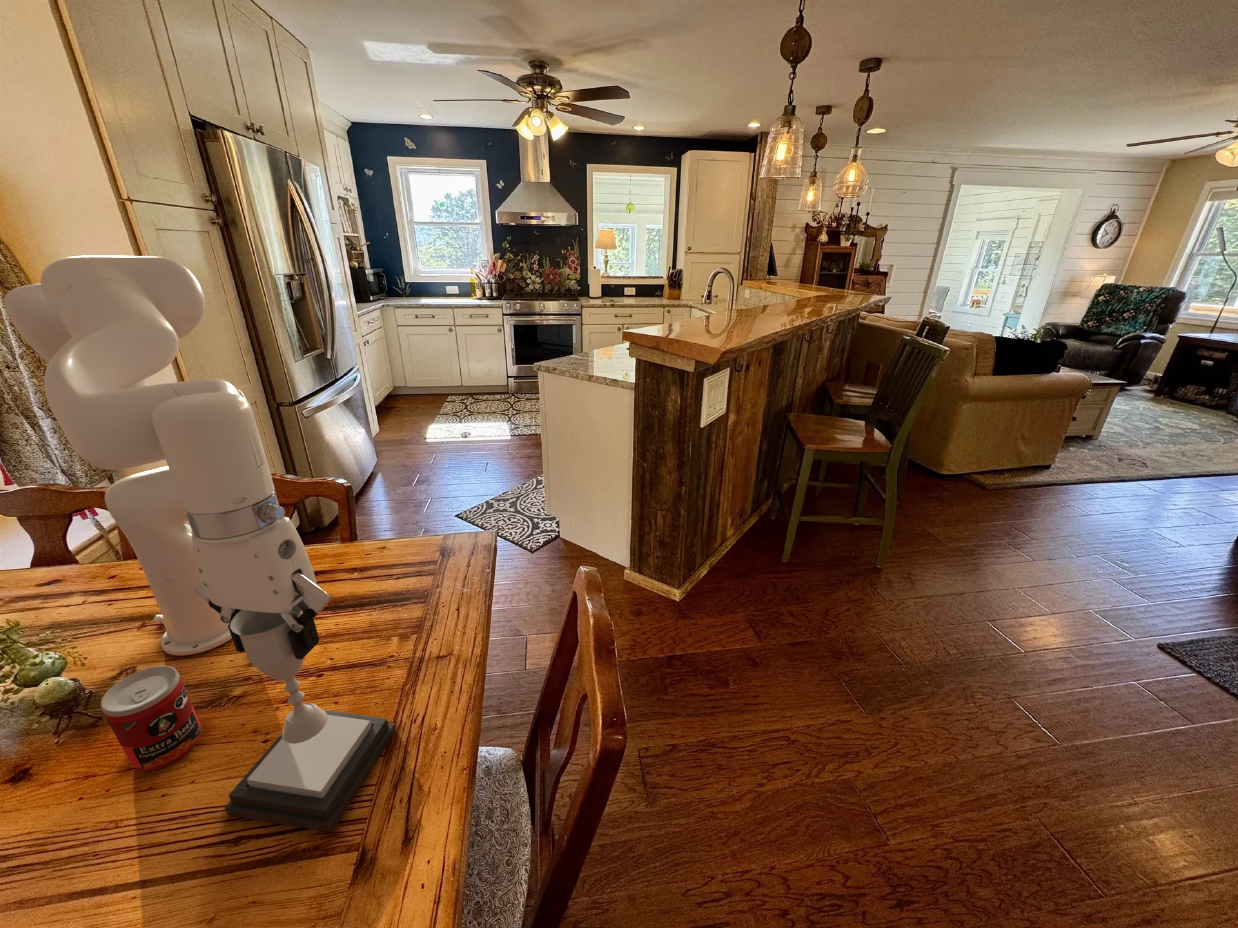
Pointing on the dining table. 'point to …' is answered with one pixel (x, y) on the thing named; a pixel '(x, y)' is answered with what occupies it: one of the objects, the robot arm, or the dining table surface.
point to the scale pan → (311, 760)
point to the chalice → (279, 667)
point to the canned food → (152, 717)
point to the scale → (310, 809)
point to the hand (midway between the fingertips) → (279, 645)
